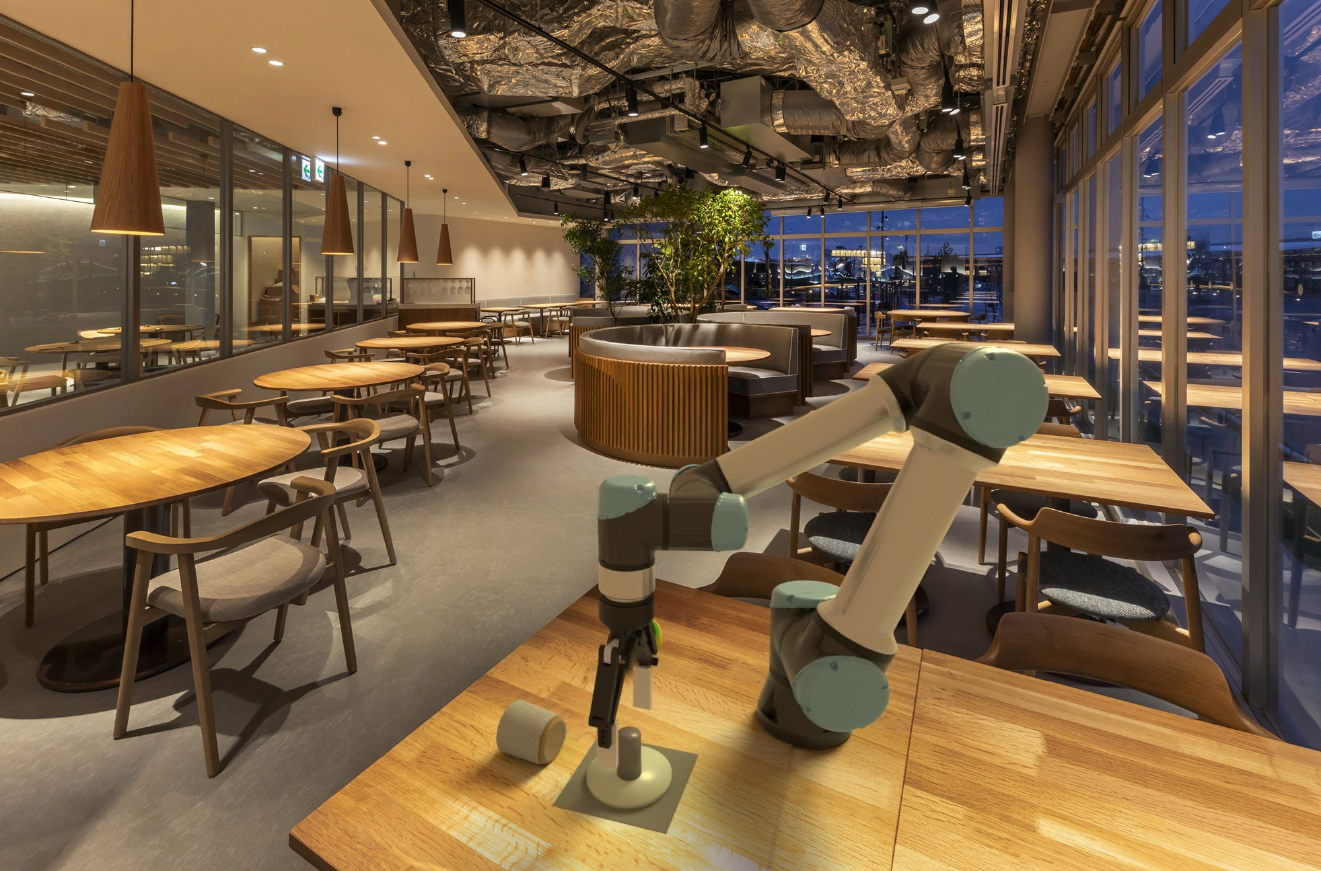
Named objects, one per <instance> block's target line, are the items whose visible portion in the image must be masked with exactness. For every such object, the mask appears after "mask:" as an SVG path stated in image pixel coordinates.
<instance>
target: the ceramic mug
mask: <svg viewBox="0 0 1321 871" xmlns="http://www.w3.org/2000/svg"><path fill="white" fill-rule="evenodd" d="M568 728H569V727H568V725H566V722H565V719H564V718H563V717H562V716H560V715H559V714H557V713H556V712H553V711H552V710H549V709H546V708H543V707H540V706H538V705H536V704H533V703H531V702H528V701H526V700H523V699H516V700H514V701H513V702H512V703H510V704H509V706H507V708H506V709H505V710H504V712H503V714H502V715H501V717H500V720H499V722H498V724H497V730H496V736H495V737H496V740H495V743H496V747H497V749H498V750H499V751H500V752H501V753H503V754H507V755H510V756H513V757H516V758H518V759H521V760H524V761H528V762H531V763H532V764H537V765H542V766H543V765H548V764H550V763H551V762H553V761H554V760H555V759H556V758H557V756H559V754H560V752H561V750H562V747H563V744H564V742H565V739H566V737H567V734H568Z"/></svg>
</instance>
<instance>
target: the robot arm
mask: <svg viewBox="0 0 1321 871" xmlns="http://www.w3.org/2000/svg"><path fill="white" fill-rule="evenodd" d="M1049 397H1050V394H1049V388H1048V385H1047V384H1046V379H1045V376H1044V374H1043V372H1042V371H1041V369H1040V368H1039V367H1038V365H1037V364H1036V363H1035V362H1034V361H1033V360H1031V359H1030V358H1029V357H1027V356H1026V355H1024V354H1022V353H1020V352H1017V351H1015V350H1010V349H1007V348H1003V347H1000V346H998V345H976V344H968V343H962V342H961V343H960V342H945V343H940V344H936V345H934V346H931V347H928V348H925V349H923V350H921V351H919V352H917V353H914V354H912V355H910V356H908V357H906V358H904V359H902V360H900V361H898V362H896V363H894V364H893V365H889V366H888V367H886V368H885V369H883V370H881V371H877V373H876V372H875V373H874V374H872V375H871V376H869V381H868V383H867V385H866V386H865V385H864V386H863V387H861V388H859V389H856V390H855V391H852V392H850V393H849V394H846V395H845V396H842V397H840V398H838V399H836V400H834V401H831V402H830V403H828V404H826V405H823V406H822V407H819V408H817V409H815V410H813V411H811V412H809V413H807V414H805V415H802V416H800V417H799V418H796V419H794V420H792V421H789V423H786V424H784V425H782V426H779V427H777V428H775V429H774V430H772V431H769V432H767V433H765V434H764V435H761V436H760V437H757V438H754V439H753V440H751V441H749V442H747V443H744V444H743V445H740V446H738V447H736V448H735V449H731V450H730V451H728V452H726V453H723V454H721V455H719V456H718V457H716V458H713V459H711V460H709V461H707V462H704V463H702V464H688V465H684V466H682V467H681V468H679V469H678V470H677V471H676V472H675V473H674V475H673V476H672V479H671V481H670V485H669V489H668V492H669V493H667V492H666V493H663V492H658V490H657V487H656V482H655V481H654V480H653V479H652V478H650V477H648V476H645V475H636V474H621V475H614V476H610V477H608V478H606V479H604V480H603V481H602V482H601V484H600V485H599V488H598V505H597V506H598V507H597V541H598V542H597V547H598V548H597V549H598V555H597V556H598V563H597V564H596V565H595V569H596V571H598V590H599V591H600V592H599V593H598V619H599V622H601V623H602V624H603V625H604V626H605V627H607V628H608V630H609V634H608V637H607V641H606V644H602V643H601V644H600V645H599V647H598V652H597V653H598V656H597V668H596V673H595V678H594V679H595V680H594V684H593V693H592V698H591V704H590V710H589V715H588V720H587V721H588V722H587V725H588V727H592V728H595V729H596V739H597V765H601V766H605V767H609V768H614V769H616V768H617V767H618V730H619V719H616V718H617V713H618V711H619V710H618V709H619V704H620V700H621V696H622V691H623V686H624V684H625V678H626V674H627V673H628V672H630V670H631V668H632V677H633V678H632V705H633V706H632V707H633V708H637V709H643V710H647V711H651V709H652V707H653V667H652V666H654V667H658V666H659V657H656V656H657V654H658V652H659V651H658V650H657V644H656V639H655V634H654V630H653V625H652V620H654V618H655V597H656V596H655V592H654V591H655V590H656V551H660V552H661V551H663V552H666V551H667V552H668V551H670V552H671V551H672V552H674V551H675V552H676V551H679V552H681V551H682V552H684V551H685V552H715V553H721V552H729V551H730V552H731V551H739V550H742V549H744V547H745V546H746V544H747V540H748V534H749V512H748V510H749V509H748V505H747V501H746V500H747V499H750V498H752V497H753V496H756V495H758V494H760V493H762V492H765V491H766V490H768V489H770V488H773V487H775V486H777V485H779V484H781V483H784V482H785V481H787V480H790V479H792V478H794V477H796V476H798V475H801V474H802V473H805V472H807V471H809V470H811V469H813V468H815V467H817V466H820V465H821V464H823V463H824V464H825V462H828V461H830V460H832V459H834V458H837V457H839V456H841V455H843V454H845V453H847V452H849V451H851V450H854V449H855V448H858V447H859V446H861V445H864V444H867V443H869V442H870V441H872V440H875V439H877V438H879V437H881V436H884V435H886V434H887V433H890V432H894V433H897V434H900V435H901V434H903V433H906V432H908V431H910V433H911V437H912V438H913V445H912V447H911V449H910V450H909V452H908V455H907V456H906V459H905V460H904V463H903V464H902V466H901V467H900V470H899V473H898V474H897V475H896V478H895V480H894V482H893V484H892V485H891V487H890V489H889V491H888V494H887V495H886V496H885V497H886V498H885V499H884V501H883V503H882V505H881V507H880V509H879V510H878V512H877V515H876V517H875V518H874V520H873V522H872V524H871V526H870V528H869V530H868V532H867V534H866V536H865V537H864V540H863V542H862V544H861V545H860V548H859V550H858V551H857V554H856V555H855V558H854V560H853V561H852V562H851V565H850V567H849V569H848V571H847V572H846V575H845V577H844V578H843V581H842V582H841V584H840V586H837V585H835V584H832V583H828V582H825V581H817V580H792V581H786V582H783V583H780V584H778V585H776V586H775V587H774V588H773V590H772V591H771V600H770V603H769V607H770V622H769V624H770V626H769V628H770V629H769V660H768V661H769V663H768V664H769V668H768V674H767V676H766V679H765V681H764V683H763V686H762V689H761V692H760V694H759V696H758V699H757V704H756V705H757V707H756V709H757V710H756V717H757V720H758V723H759V725H760V726H761V728H762V729H763V730H764V731H765V732H766V733H767V734H768V735H770V736H771V737H773V738H774V739H776V740H777V741H780V742H783V743H785V744H787V745H790V746H791V747H792V748H797V749H803V750H826V749H830V748H833V747H837V746H839V745H841V744H843V743H845V741H847V739H849V737H850V736H851V734H852V731H854V730H856V729H860V730H861V729H864V728H867V727H868V726H870V725H872V724H874V723H875V722H876V721H878V719H879V718H880V717H881V716H882V714H884V712H885V711H886V709H887V707H888V704H889V702H890V695H891V694H890V693H891V691H890V684H889V680H888V677H887V676H886V672H887V671H888V668H889V667H890V665H891V663H892V661H893V660H894V657H895V656H896V654H897V652H898V648H899V647H898V644H897V641H896V638H895V635H894V631H895V630H896V628H897V625H898V623H899V621H900V620H901V619H902V616H903V614H904V613H905V611H906V608H908V605H909V603H910V601H911V599H912V598H913V596H914V594H915V592H916V591H917V588H918V586H919V585H920V583H921V581H922V579H923V577H924V575H925V574H926V571H927V569H928V568H929V566H930V564H931V562H932V560H933V558H934V557H935V555H936V553H937V551H938V550H939V547H940V545H941V544H942V542H943V541H944V538H945V536H946V534H947V532H948V531H949V529H950V527H951V525H952V523H953V521H954V520H955V518H956V516H957V514H958V512H959V510H960V508H961V507H962V504H963V503H964V500H965V499H966V497H967V495H968V494H969V492H970V490H971V488H972V486H973V485H974V483H975V481H976V479H977V477H978V475H979V474H980V473H981V472H984V471H987V470H990V469H993V468H997V467H998V466H999V464H1000V462H1001V460H1002V458H1003V456H1005V453H1006V452H1007V449H1008V448H1010V447H1011V448H1012V447H1014V446H1017V445H1018V444H1020V443H1022V442H1026V441H1028V440H1029V439H1030V438H1032V437H1033V436H1034V435H1035V434H1036V433H1037V431H1038V430H1040V427H1041V426H1042V425H1043V423H1044V421H1045V419H1046V416H1047V412H1048V408H1049V403H1050V402H1049V400H1050V398H1049ZM654 656H655V657H654ZM633 660H634V661H635V663H636V664H634V665H633V666H632V663H633Z"/></svg>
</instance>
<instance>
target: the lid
mask: <svg viewBox="0 0 1321 871" xmlns="http://www.w3.org/2000/svg"><path fill="white" fill-rule="evenodd" d="M641 743H642V731H641V730H640V728H638V727H635V726H629V725H628V726H623V727H620V728H618V767H617V768H616V769H614V768H609V767H605V766H601V765H597V757H596V758H595V759H594V760H593V761H592V762H591V763H590V765H589V767H588V770H587V787H588V790H589V792H590V794H591V795H592V796H593V797H594V798H595V799H596V800H597V801H598V802H600V803H602V804H603V805H606V806H608V807H611V808H615V809H623V810H632V809H639V808H643V807H646V806H649V805H651V804H653V803H655V802H657V801H658V800H660V799H661V798H662V797H663V796H664V795H665V794H666V793H667V792H668V790H669V788H670V786H671V782H672V769H671V766H670V763H669V761H668V760H667V759H666V758H665V757H664V756H663V755H662V754H661V753H659V752H658V751H656V750H654V749H651V748H649V747H645V746H641Z"/></svg>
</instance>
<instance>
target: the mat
mask: <svg viewBox="0 0 1321 871" xmlns="http://www.w3.org/2000/svg"><path fill="white" fill-rule="evenodd" d="M641 746H645V747H649V748H651V749H654V750H656V751H658V752H659V753H661V754H662V755H663V756H664V757H665V758H666V759H667V760H668V761H669V763H670V766H671V769H672V782H671V786H670V788H669V790H668V792H667V793H666V794H665V795H664V796H663V797H662V798H661V799H660V800H658V801H657V802H655V803H653V804H651V805H649V806H646V807H643V808H639V809H632V810H623V809H615V808H611V807H608V806H606V805H603V804H602V803H600V802H598V801H597V800H596V799H595V798H594V797H593V796H592V795H591V794H590V792H589V790H588V787H587V770H588V767H589V765H590V763H591V762H592V761H593V760H594V759H595V758H596V757H597V738H595V740H594V741H593V743H592V744H591V746H590V748H589V749H588V751H587V752H586V754H585V756H584V757H583V759H582V760H581V762H580V763H579V765H578V766H577V768H576V769H575V770H574V772H573V773H572V775H571V777H570V778H569V779H568V780H567V782H566V784H565V786H564V787H563V789H562V790H561V792H560V793H559V794H558V796H557V798H556V799H555V801H554V802H553V804H552V807H557V808H561V809H563V810H569V811H572V812H577V813H581V814H584V815H589V816H593V817H597V818H601V819H604V820H605V819H606V820H609V821H613V822H617V823H620V824H621V823H622V824H626V825H630V826H633V827H637V828H642V829H645V830H650V831H653V832H658V833H662V834H667V833H668V830H670V826H671V823H672V821H673V819H674V816H675V813H676V811H677V808H678V806H679V803H680V801H681V799H682V797H683V794H684V791H685V789H686V787H687V784H688V782H689V780H690V777H691V774H692V772H693V769H694V767H695V764H696V762H697V759H698V757H699V755H700V754H699V753H693V752H689V751H684V750H678V749H674V748H668V747H666V746H665V747H663V746H659V745H656V744H655V745H653V744H649V743H645V742H641Z"/></svg>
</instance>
